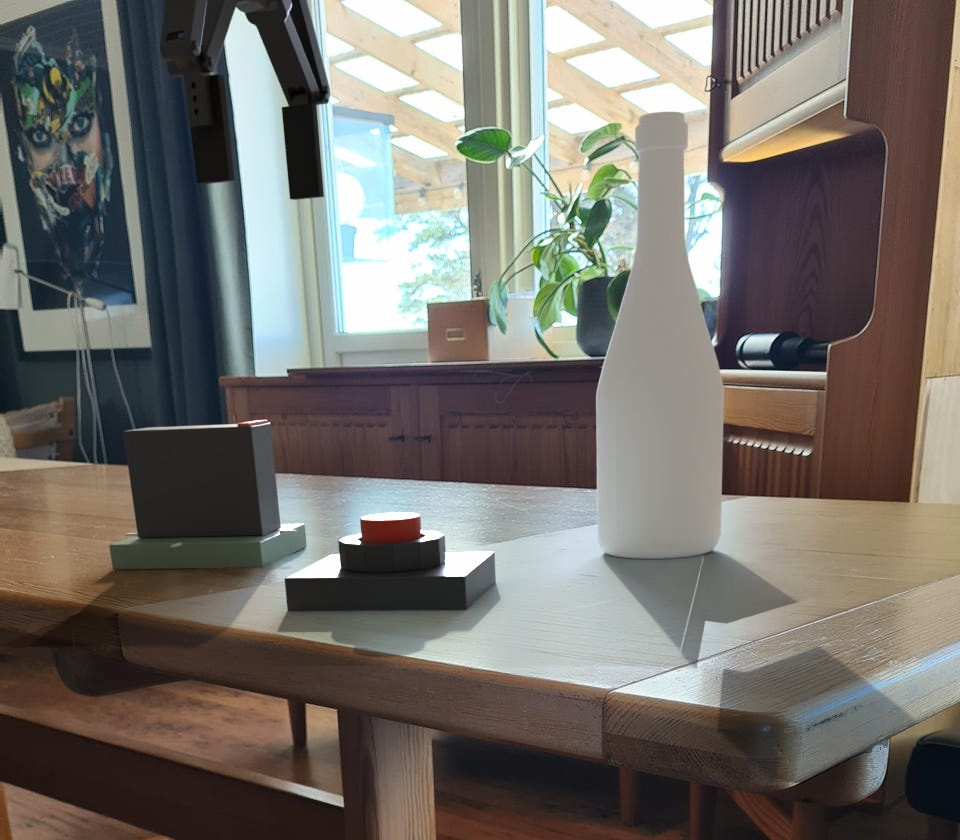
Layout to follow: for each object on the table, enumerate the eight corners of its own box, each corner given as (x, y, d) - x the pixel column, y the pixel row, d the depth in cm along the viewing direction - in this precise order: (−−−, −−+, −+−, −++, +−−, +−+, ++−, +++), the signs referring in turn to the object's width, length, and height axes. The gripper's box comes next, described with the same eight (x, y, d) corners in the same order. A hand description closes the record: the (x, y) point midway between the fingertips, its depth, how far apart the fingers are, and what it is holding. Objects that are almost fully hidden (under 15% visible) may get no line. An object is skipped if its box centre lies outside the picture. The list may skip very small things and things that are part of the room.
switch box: (287, 612, 84) (281, 550, 82) (333, 585, 93) (328, 528, 91) (466, 611, 81) (463, 546, 80) (496, 583, 90) (493, 525, 89)
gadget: (137, 538, 107) (122, 428, 103) (160, 530, 111) (146, 424, 108) (262, 535, 104) (250, 423, 101) (281, 528, 109) (270, 419, 105)
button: (354, 548, 84) (352, 520, 84) (371, 539, 88) (369, 513, 87) (413, 547, 83) (411, 519, 83) (427, 538, 87) (426, 511, 86)
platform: (88, 574, 103) (83, 546, 102) (167, 546, 117) (163, 521, 116) (266, 571, 100) (263, 543, 99) (326, 543, 114) (324, 518, 113)
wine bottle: (647, 539, 107) (648, 130, 96) (744, 547, 100) (757, 110, 89) (572, 555, 100) (565, 119, 89) (671, 564, 94) (676, 97, 83)
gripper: (175, -225, 78) (217, 168, 85) (358, -107, 99) (379, 199, 107) (74, -201, 80) (124, 179, 88) (273, -91, 102) (299, 207, 110)
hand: (264, 191), depth 97 cm, fingers open, 13 cm apart
